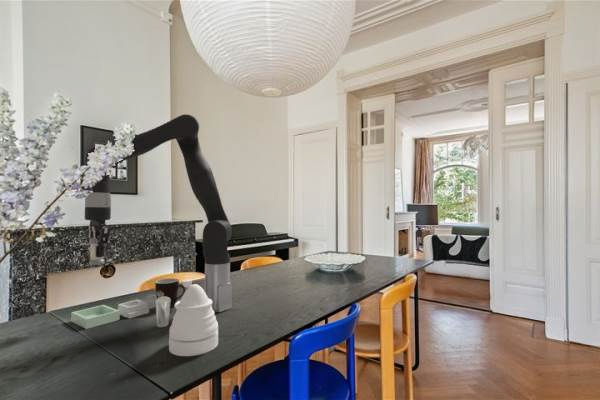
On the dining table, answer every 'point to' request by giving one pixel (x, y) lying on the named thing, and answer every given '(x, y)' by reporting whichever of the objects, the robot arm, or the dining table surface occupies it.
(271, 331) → the dining table surface
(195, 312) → the honey pot
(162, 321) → the milkshake
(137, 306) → the holder
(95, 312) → the tray
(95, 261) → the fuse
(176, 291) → the coffee mug
